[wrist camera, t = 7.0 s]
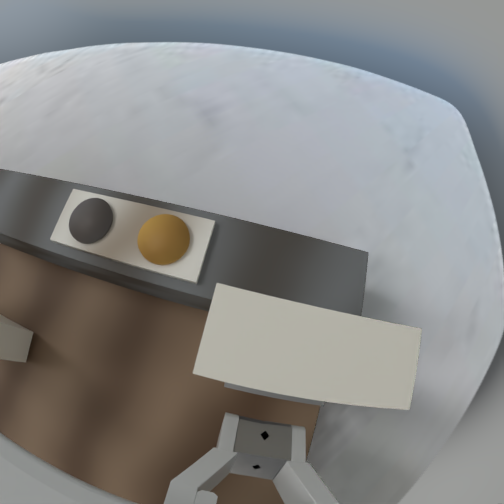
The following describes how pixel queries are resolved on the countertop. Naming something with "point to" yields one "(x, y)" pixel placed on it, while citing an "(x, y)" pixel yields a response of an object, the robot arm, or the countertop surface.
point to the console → (141, 330)
